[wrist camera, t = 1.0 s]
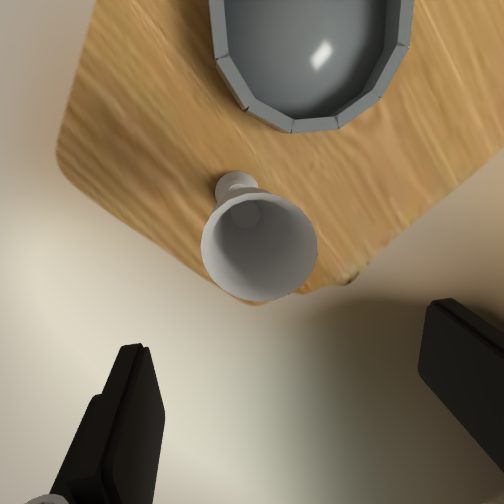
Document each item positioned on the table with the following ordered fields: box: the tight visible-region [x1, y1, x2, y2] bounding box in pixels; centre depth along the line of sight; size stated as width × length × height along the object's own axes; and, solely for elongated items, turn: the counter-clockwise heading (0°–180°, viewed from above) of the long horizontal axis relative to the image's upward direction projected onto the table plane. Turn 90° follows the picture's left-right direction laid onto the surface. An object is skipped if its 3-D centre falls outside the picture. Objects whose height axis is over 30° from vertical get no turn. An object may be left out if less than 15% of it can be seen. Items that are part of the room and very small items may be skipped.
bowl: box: [208, 0, 414, 133], centre depth 28 cm, size 18×18×4 cm
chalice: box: [201, 171, 318, 302], centre depth 27 cm, size 7×7×18 cm
